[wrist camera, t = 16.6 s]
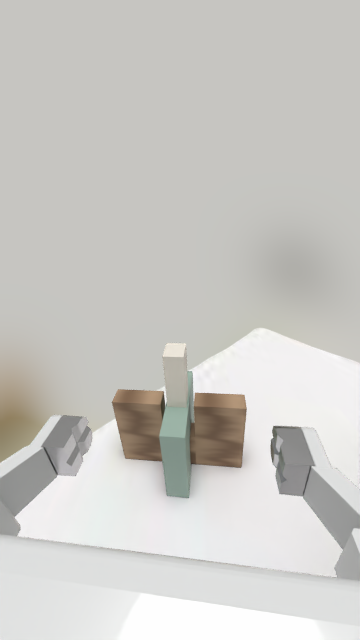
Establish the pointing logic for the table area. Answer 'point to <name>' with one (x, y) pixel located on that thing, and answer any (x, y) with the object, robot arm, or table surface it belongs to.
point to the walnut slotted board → (205, 435)
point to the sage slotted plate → (177, 421)
